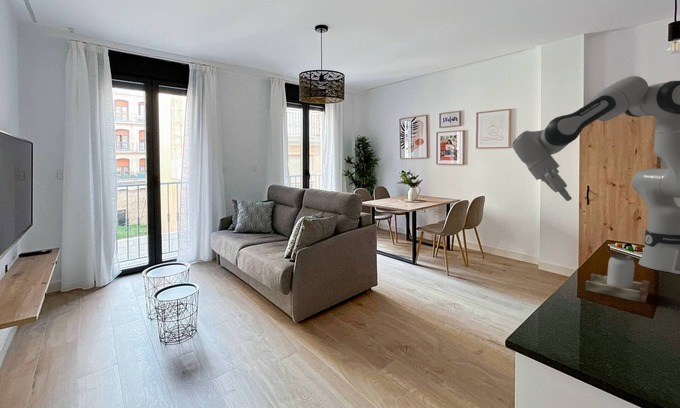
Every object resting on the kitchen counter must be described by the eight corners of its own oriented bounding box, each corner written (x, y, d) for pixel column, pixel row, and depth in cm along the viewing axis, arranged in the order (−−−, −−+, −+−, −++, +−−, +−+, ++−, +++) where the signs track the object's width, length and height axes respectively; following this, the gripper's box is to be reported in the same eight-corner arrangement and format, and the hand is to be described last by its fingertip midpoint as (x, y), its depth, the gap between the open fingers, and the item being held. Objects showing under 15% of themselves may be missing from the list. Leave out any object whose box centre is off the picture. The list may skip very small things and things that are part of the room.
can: (635, 297, 105) (639, 261, 103) (610, 295, 107) (613, 259, 106) (627, 290, 111) (630, 255, 109) (603, 287, 113) (606, 253, 111)
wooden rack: (585, 290, 111) (585, 278, 111) (591, 281, 119) (592, 270, 118) (645, 303, 101) (646, 290, 100) (648, 292, 108) (649, 281, 107)
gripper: (554, 161, 114) (581, 195, 110) (552, 166, 132) (576, 195, 128) (536, 172, 117) (562, 205, 113) (537, 176, 134) (559, 204, 131)
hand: (569, 200), depth 121 cm, fingers closed
